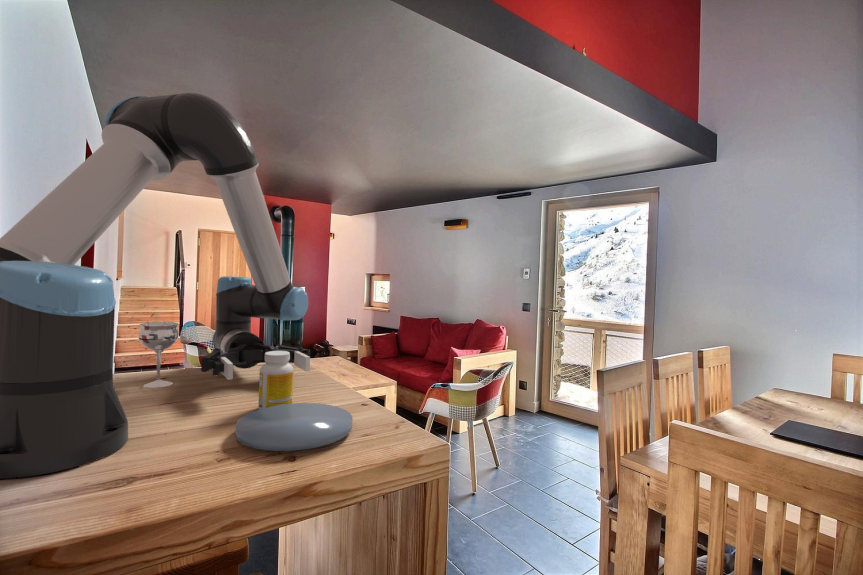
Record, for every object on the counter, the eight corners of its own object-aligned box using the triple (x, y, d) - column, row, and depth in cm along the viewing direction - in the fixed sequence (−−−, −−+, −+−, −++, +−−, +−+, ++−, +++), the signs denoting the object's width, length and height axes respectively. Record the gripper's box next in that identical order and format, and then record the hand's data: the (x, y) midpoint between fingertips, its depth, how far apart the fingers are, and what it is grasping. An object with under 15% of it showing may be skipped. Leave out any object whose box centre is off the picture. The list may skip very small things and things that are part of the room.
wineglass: (157, 390, 81) (158, 327, 80) (128, 386, 82) (129, 324, 82) (186, 381, 87) (187, 323, 87) (158, 378, 89) (159, 321, 88)
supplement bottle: (251, 410, 71) (252, 353, 71) (275, 402, 76) (276, 348, 76) (276, 415, 69) (277, 357, 69) (298, 407, 74) (300, 351, 74)
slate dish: (276, 469, 51) (276, 452, 51) (214, 433, 61) (214, 419, 61) (374, 433, 63) (374, 419, 63) (309, 408, 73) (310, 397, 73)
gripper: (298, 360, 102) (335, 380, 85) (177, 371, 87) (192, 398, 70) (299, 329, 102) (336, 342, 85) (177, 334, 87) (193, 352, 70)
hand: (271, 367), depth 77 cm, fingers open, 13 cm apart
